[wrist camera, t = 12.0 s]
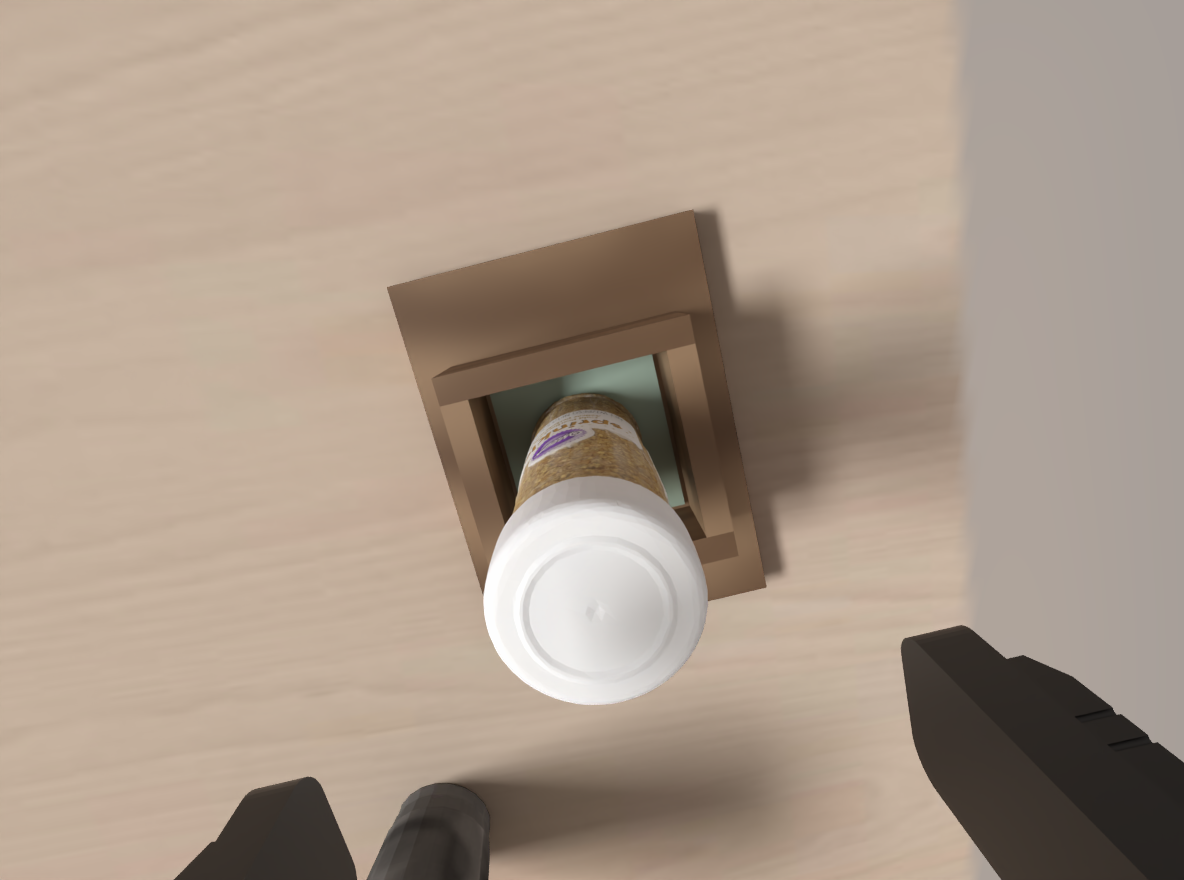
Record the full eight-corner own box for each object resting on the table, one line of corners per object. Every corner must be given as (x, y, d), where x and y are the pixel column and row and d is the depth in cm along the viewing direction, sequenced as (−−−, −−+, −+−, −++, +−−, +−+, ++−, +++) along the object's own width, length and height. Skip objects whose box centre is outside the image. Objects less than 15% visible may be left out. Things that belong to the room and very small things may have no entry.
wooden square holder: (394, 287, 25) (355, 286, 20) (688, 212, 24) (713, 195, 20) (502, 637, 28) (489, 700, 24) (759, 577, 28) (794, 629, 24)
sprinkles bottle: (588, 367, 24) (603, 454, 11) (665, 449, 25) (760, 617, 12) (506, 444, 25) (430, 610, 12) (583, 522, 26) (591, 755, 13)
